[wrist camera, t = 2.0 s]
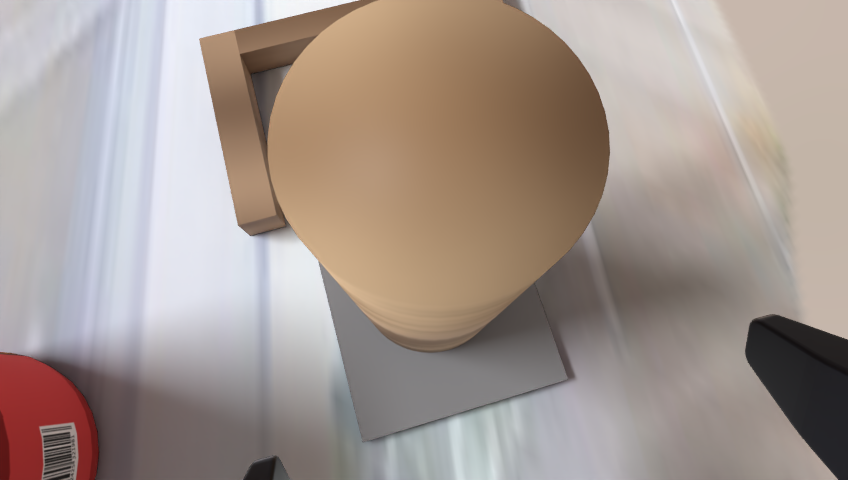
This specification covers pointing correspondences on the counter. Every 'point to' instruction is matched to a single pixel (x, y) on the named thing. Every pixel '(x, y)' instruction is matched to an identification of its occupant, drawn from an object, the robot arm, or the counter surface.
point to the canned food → (43, 424)
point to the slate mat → (441, 365)
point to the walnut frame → (238, 109)
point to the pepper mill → (437, 160)
